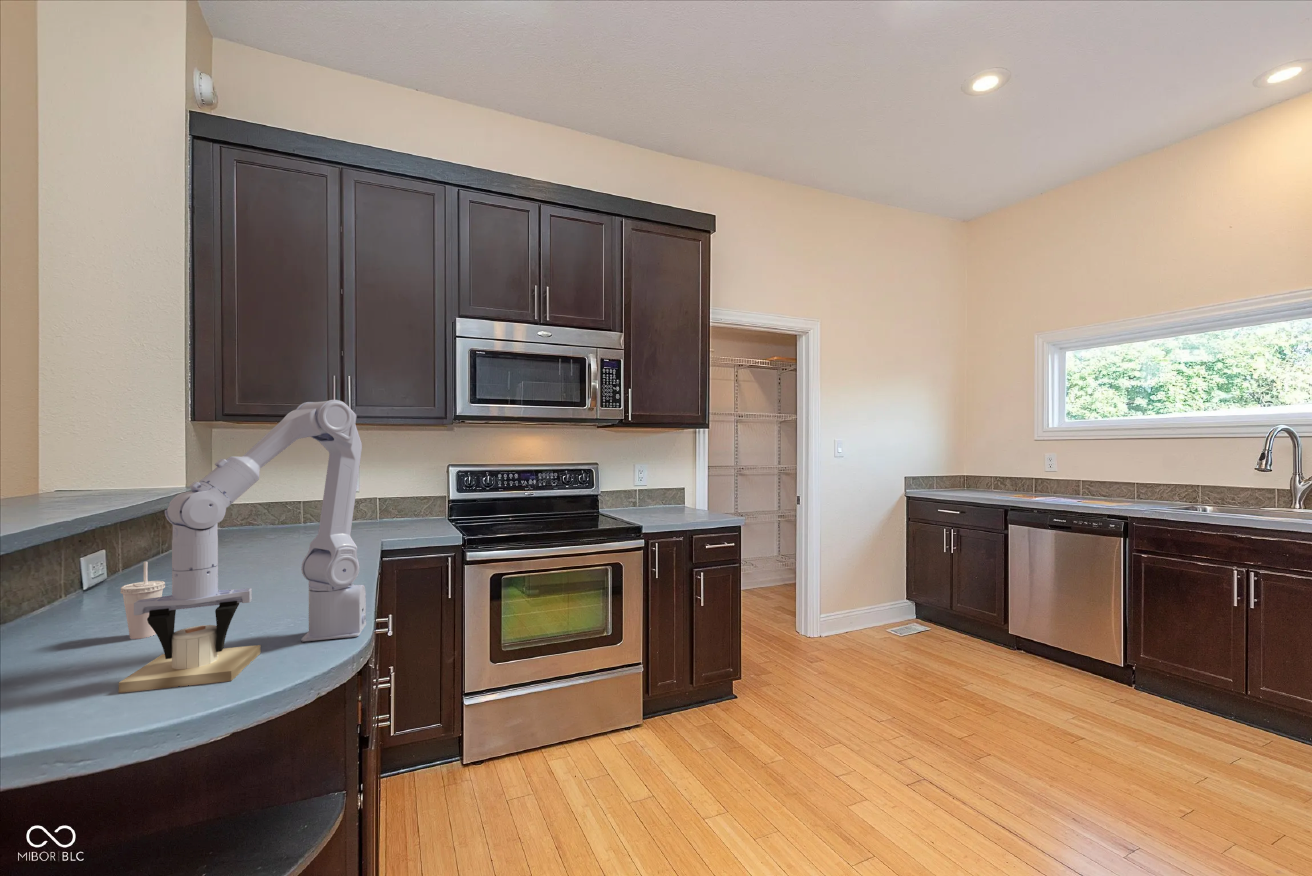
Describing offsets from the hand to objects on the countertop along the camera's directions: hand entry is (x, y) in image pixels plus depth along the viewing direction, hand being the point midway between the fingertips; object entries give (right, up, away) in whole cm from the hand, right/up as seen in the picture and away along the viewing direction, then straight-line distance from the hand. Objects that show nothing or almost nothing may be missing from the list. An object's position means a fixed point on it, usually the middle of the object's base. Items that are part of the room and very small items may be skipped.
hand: (195, 653), depth 92 cm
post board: (0, -3, 0) cm, 3 cm away
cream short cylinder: (0, -1, 0) cm, 1 cm away
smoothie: (-24, -4, +18) cm, 30 cm away
